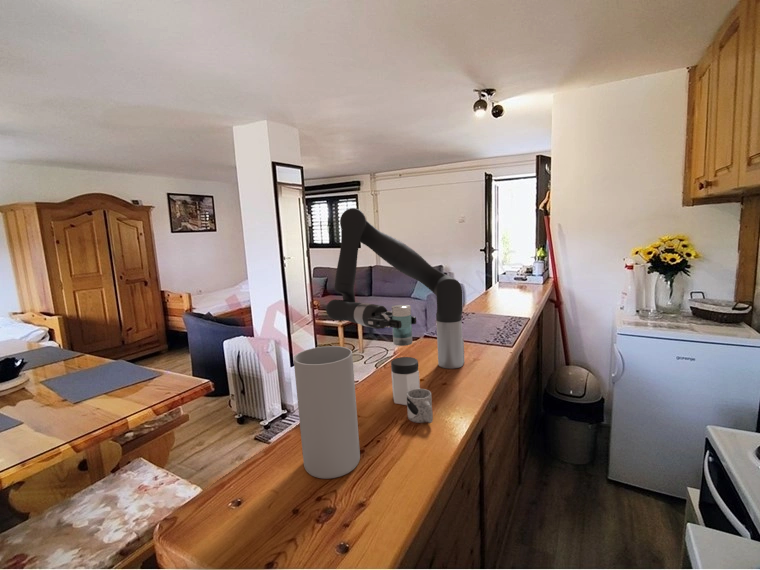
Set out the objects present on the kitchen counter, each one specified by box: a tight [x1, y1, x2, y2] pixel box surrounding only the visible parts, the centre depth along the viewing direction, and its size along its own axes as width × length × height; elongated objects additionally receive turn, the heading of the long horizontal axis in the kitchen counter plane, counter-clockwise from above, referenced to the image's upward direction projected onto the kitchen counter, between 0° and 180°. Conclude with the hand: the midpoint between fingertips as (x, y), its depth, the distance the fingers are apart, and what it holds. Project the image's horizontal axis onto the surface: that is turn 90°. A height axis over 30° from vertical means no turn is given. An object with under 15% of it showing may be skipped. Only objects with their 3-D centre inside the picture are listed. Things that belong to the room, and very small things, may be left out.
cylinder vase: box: [293, 345, 361, 480], centre depth 82 cm, size 12×12×25 cm
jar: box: [390, 356, 421, 406], centre depth 112 cm, size 9×8×12 cm
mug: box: [406, 388, 434, 424], centre depth 99 cm, size 10×7×7 cm, turn 21°
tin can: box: [391, 304, 413, 347], centre depth 110 cm, size 6×6×11 cm
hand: (407, 322), depth 108 cm, fingers closed on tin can, 5 cm apart
